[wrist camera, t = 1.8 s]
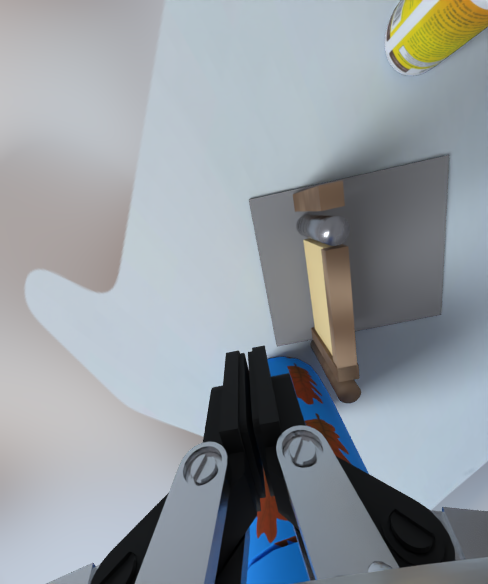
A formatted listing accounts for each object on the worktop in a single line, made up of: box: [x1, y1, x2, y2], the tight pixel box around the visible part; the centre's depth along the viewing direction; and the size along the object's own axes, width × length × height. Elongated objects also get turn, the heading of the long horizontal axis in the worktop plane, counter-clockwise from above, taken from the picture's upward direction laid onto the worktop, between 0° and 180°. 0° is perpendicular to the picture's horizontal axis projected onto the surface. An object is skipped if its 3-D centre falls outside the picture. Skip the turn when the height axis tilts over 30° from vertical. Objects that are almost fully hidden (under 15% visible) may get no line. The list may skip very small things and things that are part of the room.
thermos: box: [246, 356, 369, 584], centre depth 19 cm, size 11×11×25 cm
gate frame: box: [249, 155, 449, 403], centre depth 22 cm, size 18×19×8 cm
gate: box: [296, 215, 359, 382], centre depth 22 cm, size 14×2×8 cm, turn 12°
